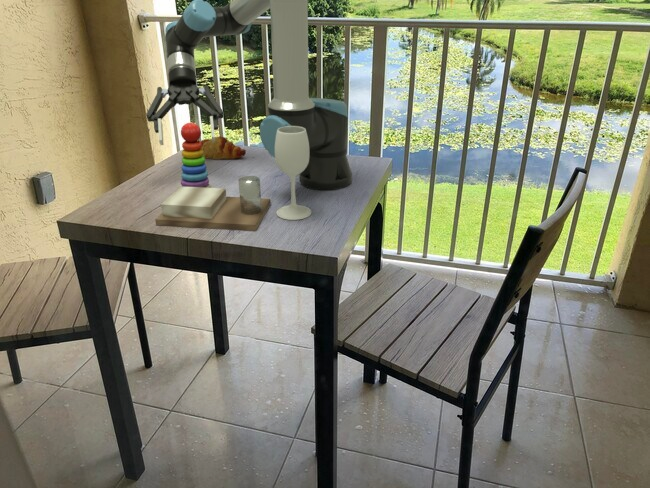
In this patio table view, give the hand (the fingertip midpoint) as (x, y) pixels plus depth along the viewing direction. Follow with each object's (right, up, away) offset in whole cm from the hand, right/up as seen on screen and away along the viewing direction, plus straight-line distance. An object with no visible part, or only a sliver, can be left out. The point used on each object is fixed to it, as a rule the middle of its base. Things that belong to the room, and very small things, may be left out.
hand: (187, 141), depth 137 cm
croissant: (+1, +1, +32) cm, 32 cm away
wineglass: (+29, -20, -10) cm, 37 cm away
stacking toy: (+2, -13, +3) cm, 14 cm away
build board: (+10, -20, -11) cm, 25 cm away
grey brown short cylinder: (+19, -19, -12) cm, 30 cm away
